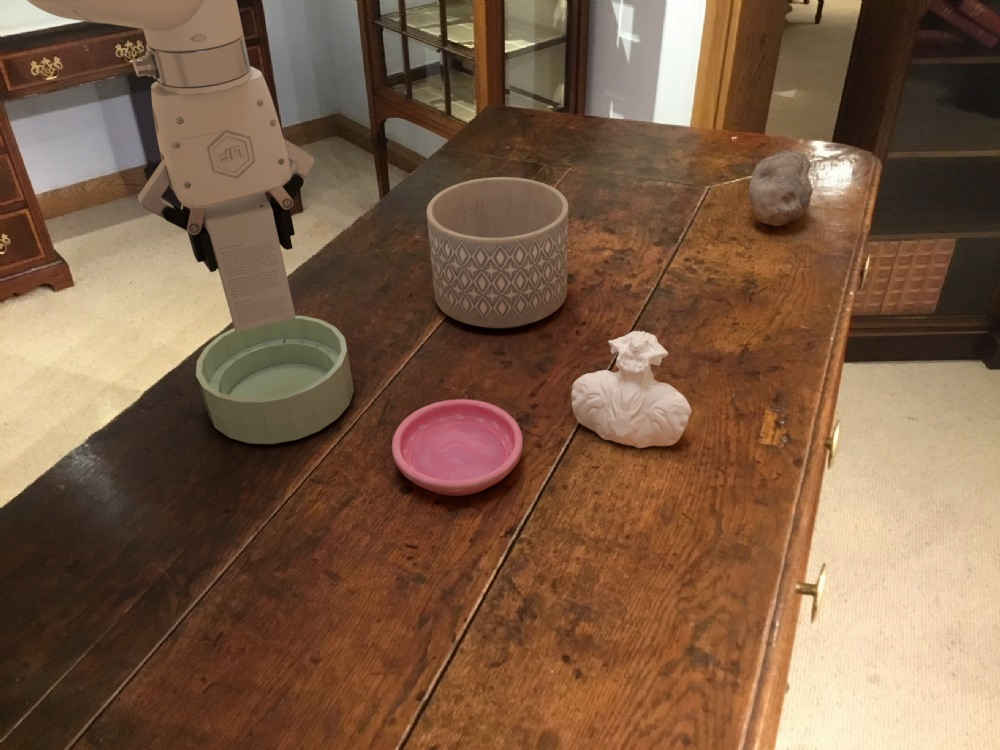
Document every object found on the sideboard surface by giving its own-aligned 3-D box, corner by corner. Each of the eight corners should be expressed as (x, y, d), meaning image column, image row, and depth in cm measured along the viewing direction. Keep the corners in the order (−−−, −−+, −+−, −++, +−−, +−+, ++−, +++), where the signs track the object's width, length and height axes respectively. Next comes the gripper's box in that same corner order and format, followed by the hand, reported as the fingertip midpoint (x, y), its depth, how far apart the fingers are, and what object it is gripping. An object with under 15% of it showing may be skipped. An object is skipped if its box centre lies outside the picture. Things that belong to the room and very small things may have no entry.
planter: (419, 282, 110) (409, 191, 103) (535, 256, 115) (535, 167, 107) (460, 350, 98) (452, 252, 90) (589, 318, 102) (592, 222, 95)
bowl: (236, 468, 83) (221, 421, 79) (193, 389, 94) (178, 344, 90) (377, 413, 89) (370, 367, 86) (322, 344, 100) (313, 300, 96)
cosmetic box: (289, 298, 87) (266, 190, 80) (296, 319, 84) (273, 208, 77) (228, 311, 86) (199, 202, 78) (234, 333, 82) (204, 221, 75)
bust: (686, 456, 85) (711, 347, 85) (676, 461, 78) (703, 341, 78) (573, 428, 89) (596, 324, 89) (553, 430, 82) (578, 316, 82)
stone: (821, 202, 125) (835, 136, 119) (795, 244, 115) (809, 174, 109) (762, 190, 128) (772, 126, 122) (732, 230, 118) (742, 162, 112)
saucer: (512, 415, 88) (511, 391, 86) (533, 500, 78) (533, 475, 76) (392, 429, 87) (389, 405, 85) (398, 517, 77) (394, 492, 75)
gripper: (101, 96, 64) (165, 299, 75) (317, 53, 71) (348, 244, 82) (82, 71, 69) (145, 264, 80) (286, 33, 76) (318, 216, 87)
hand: (247, 253), depth 81 cm, fingers closed on cosmetic box, 6 cm apart
